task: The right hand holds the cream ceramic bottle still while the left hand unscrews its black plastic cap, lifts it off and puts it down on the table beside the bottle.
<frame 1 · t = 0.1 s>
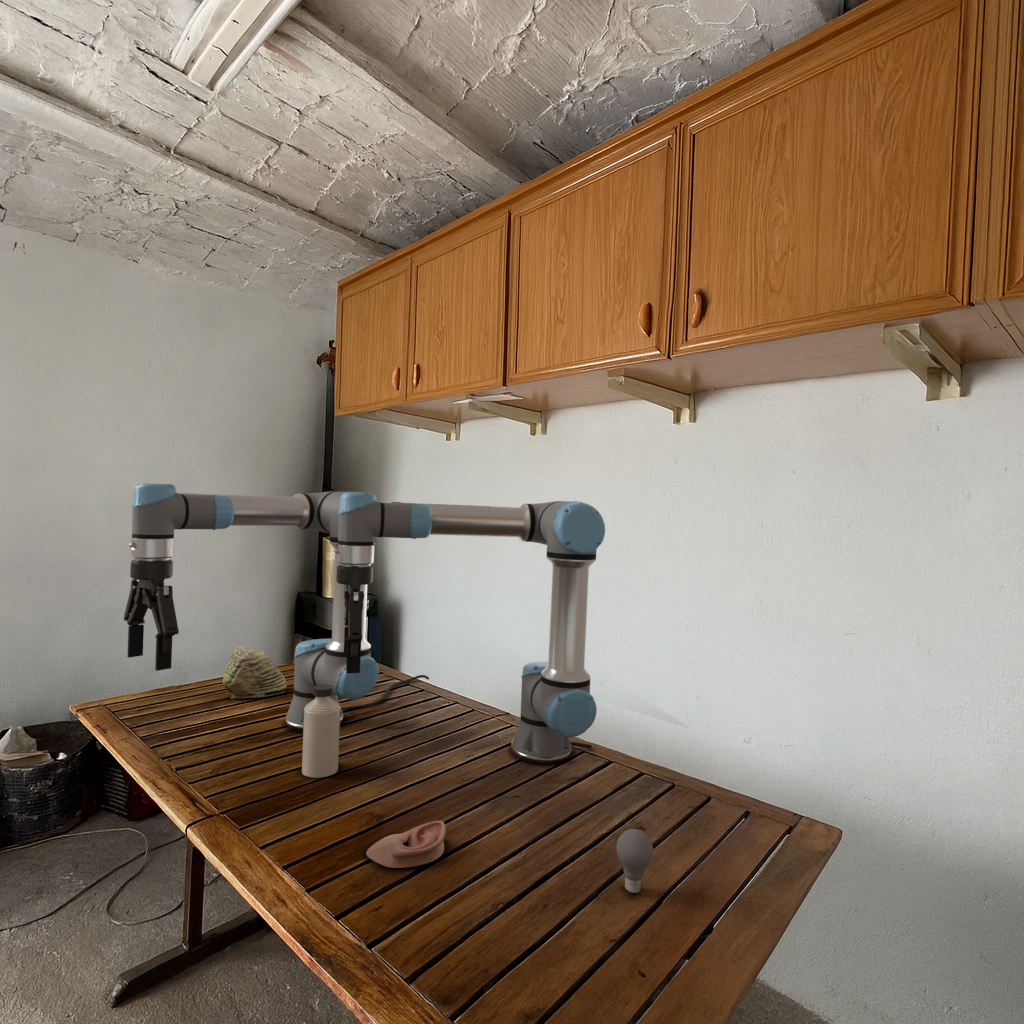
left hand: (148, 662, 129), 28 cm above the table, tool pointing down, fingers open, 13 cm apart
right hand: (351, 664, 135), 28 cm above the table, tool pointing down, fingers open, 13 cm apart
fossil: (254, 694, 198), on the table
cap: (323, 688, 146), point 19 cm above the table, screwed on, not yet turned
bottle: (320, 770, 147), on the table
anatomical model: (406, 852, 114), on the table
light bulb: (632, 891, 106), on the table
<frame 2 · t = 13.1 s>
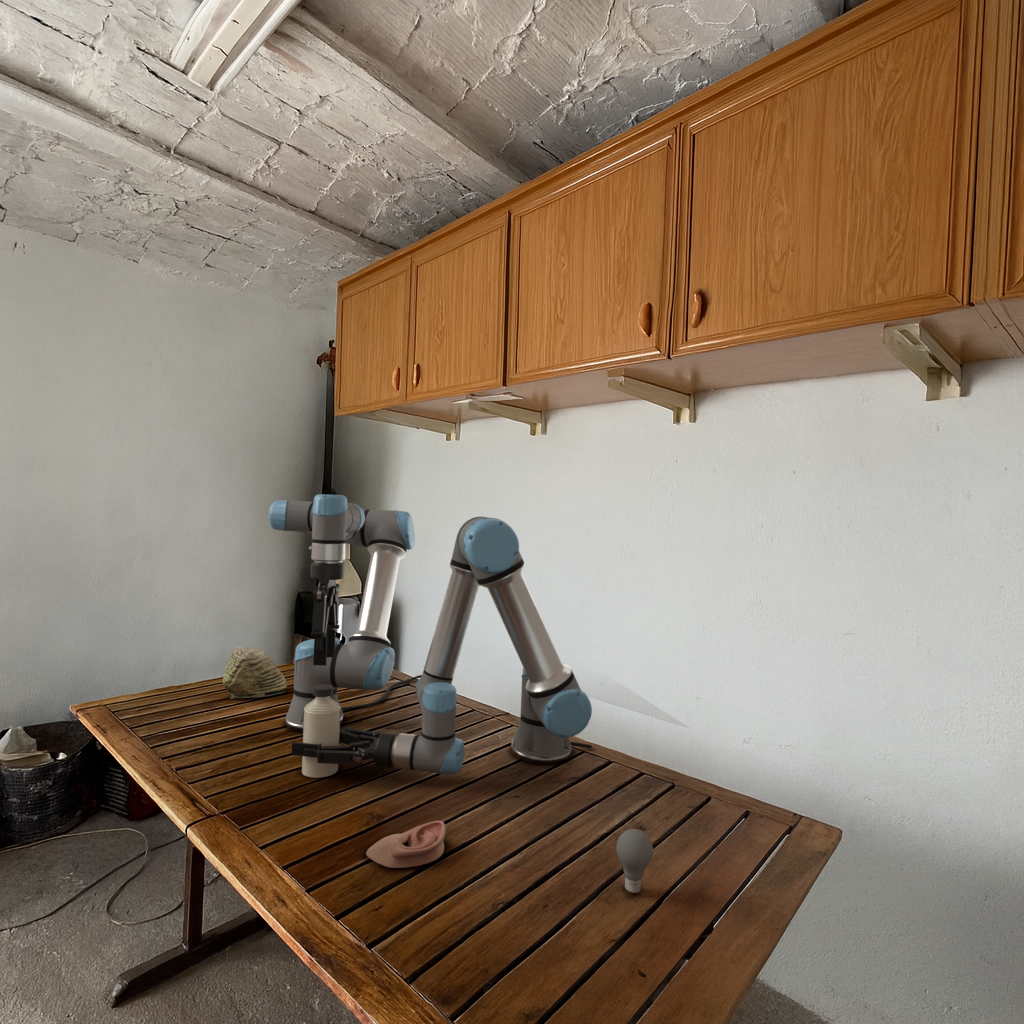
left hand: (324, 660, 146), 25 cm above the table, tool pointing down, fingers open, 7 cm apart
right hand: (301, 741, 147), 6 cm above the table, tool horizontal, fingers closed on bottle, 8 cm apart
bottle: (320, 770, 147), on the table, touching right hand
everything else where it was.
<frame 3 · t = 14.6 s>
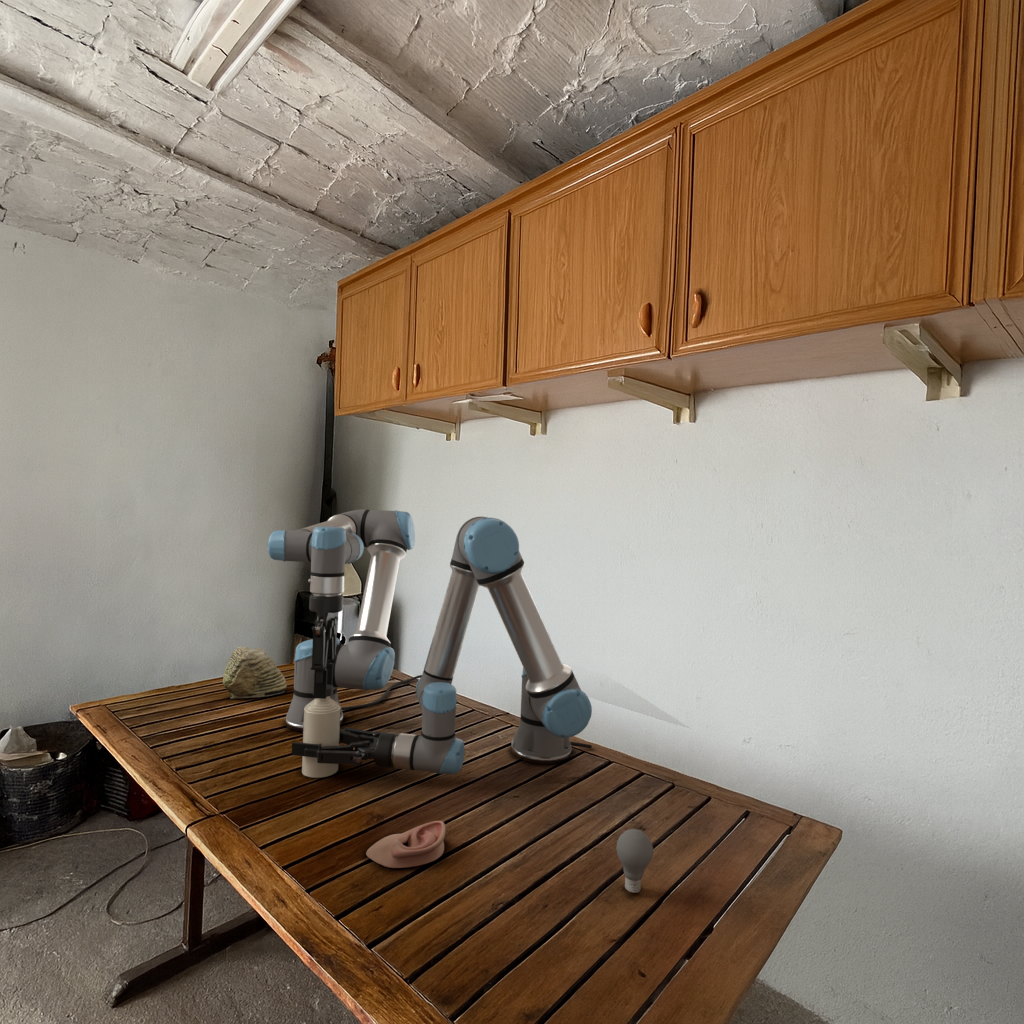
left hand: (322, 694, 146), 18 cm above the table, tool pointing down, fingers closed on cap, 4 cm apart
right hand: (301, 741, 147), 6 cm above the table, tool horizontal, fingers closed on bottle, 8 cm apart
cap: (323, 688, 146), point 19 cm above the table, screwed on, not yet turned, touching left hand
bottle: (320, 770, 147), on the table, touching right hand
everything else where it was.
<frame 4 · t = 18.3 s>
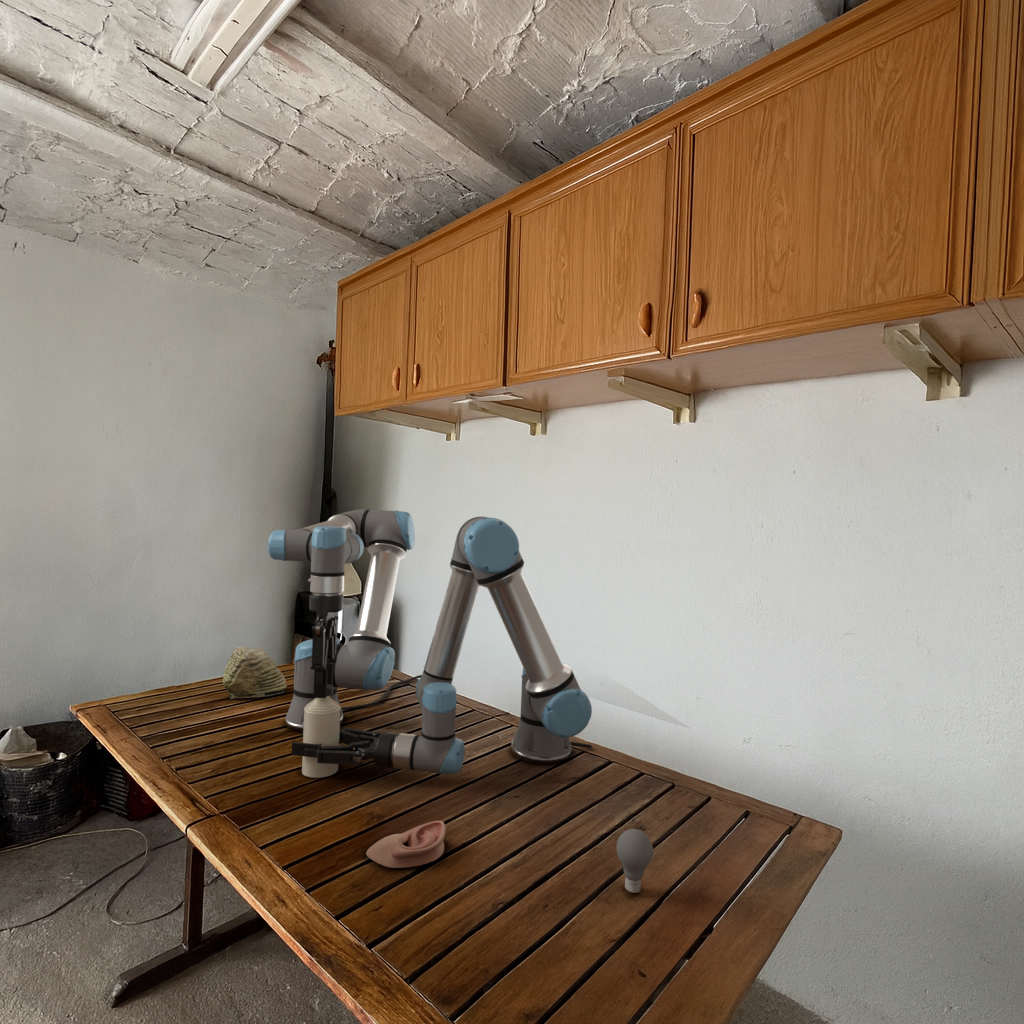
left hand: (322, 693, 146), 18 cm above the table, tool pointing down, fingers closed on cap, 4 cm apart
right hand: (301, 741, 147), 6 cm above the table, tool horizontal, fingers closed on bottle, 8 cm apart
cap: (323, 687, 146), point 19 cm above the table, turned 116° so far, risen 0.1 cm, still on its thread, touching left hand
bottle: (320, 770, 147), on the table, touching right hand
everything else where it was.
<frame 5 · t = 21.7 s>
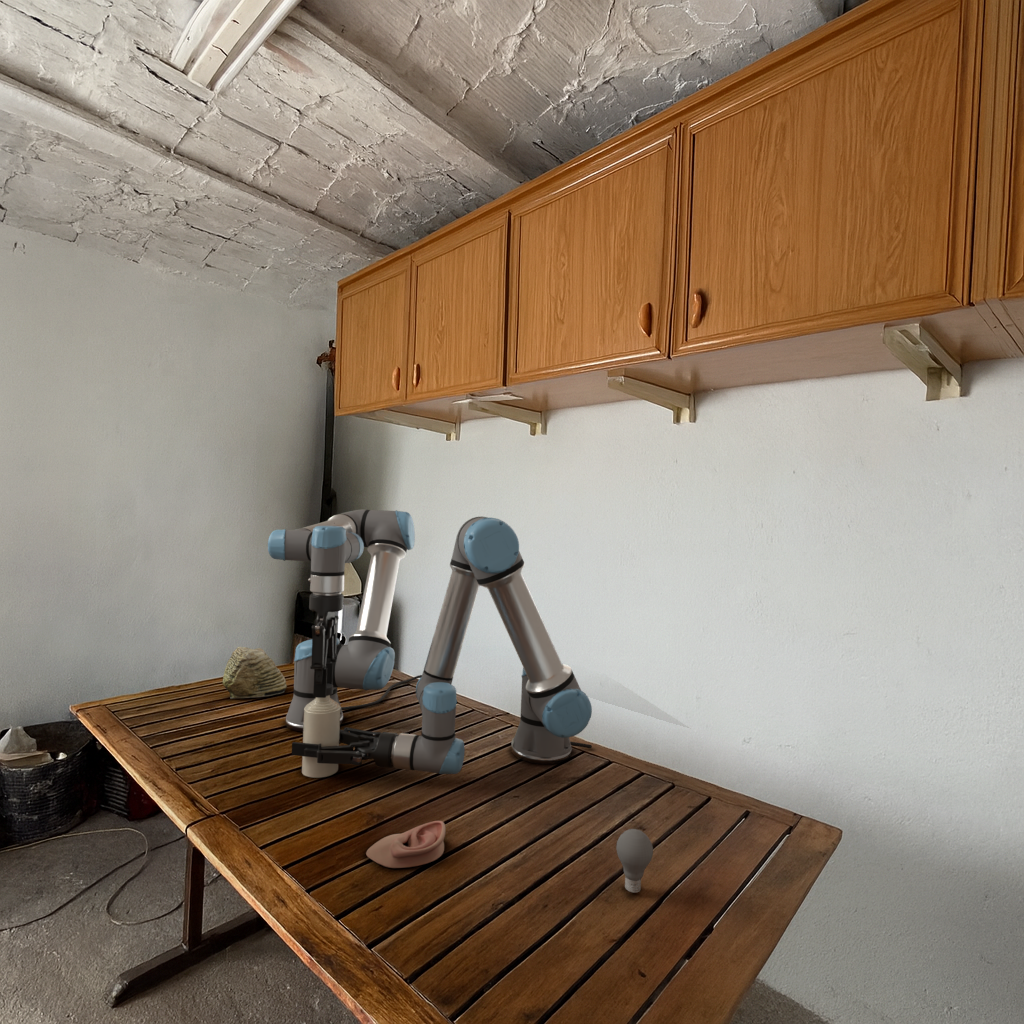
left hand: (323, 693, 146), 18 cm above the table, tool pointing down, fingers closed on cap, 4 cm apart
right hand: (301, 741, 147), 6 cm above the table, tool horizontal, fingers closed on bottle, 8 cm apart
cap: (323, 687, 146), point 19 cm above the table, turned 233° so far, risen 0.2 cm, still on its thread, touching left hand
bottle: (320, 770, 147), on the table, touching right hand
everything else where it was.
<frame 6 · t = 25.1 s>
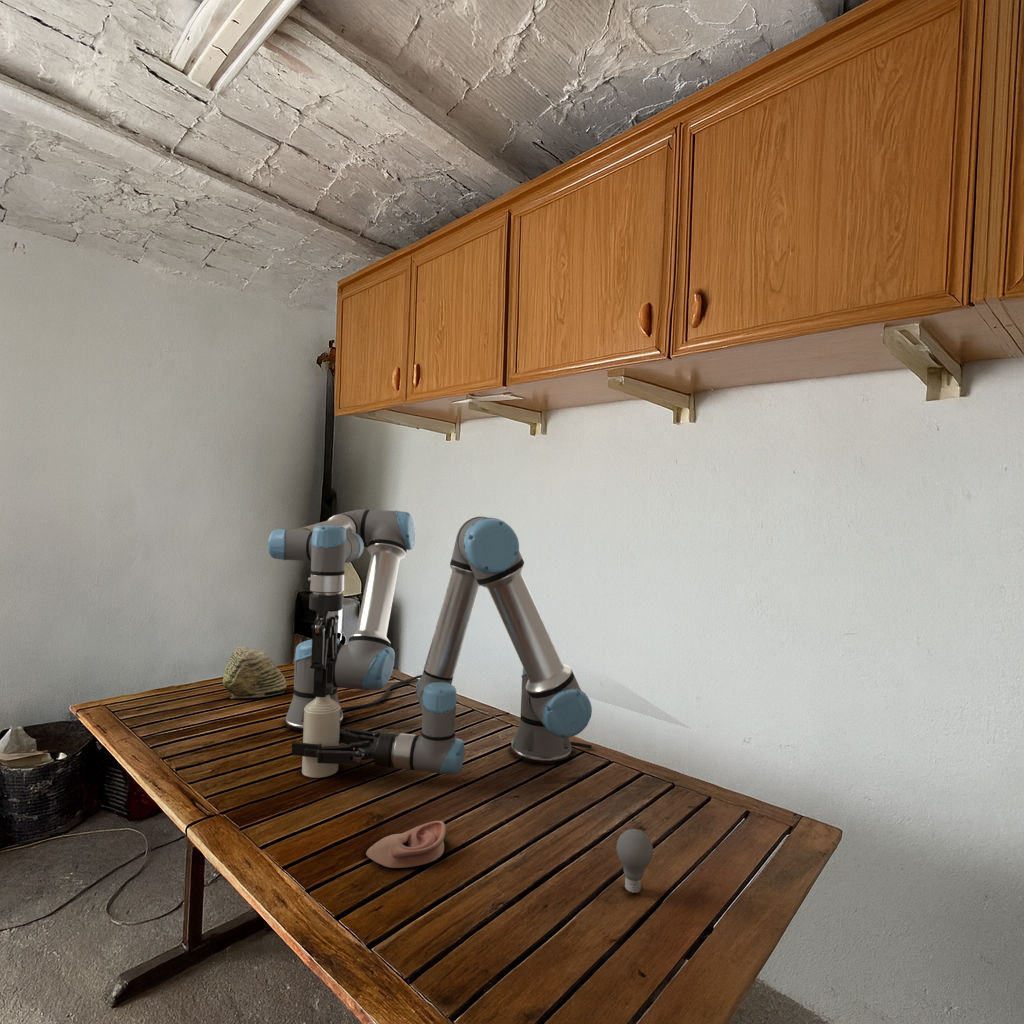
left hand: (323, 693, 146), 18 cm above the table, tool pointing down, fingers closed on cap, 4 cm apart
right hand: (301, 741, 147), 6 cm above the table, tool horizontal, fingers closed on bottle, 8 cm apart
cap: (323, 686, 146), point 19 cm above the table, turned 349° so far, risen 0.3 cm, still on its thread, touching left hand
bottle: (320, 770, 147), on the table, touching right hand
everything else where it was.
when the left hand's fingers open (2 cm above the table, at t = 32.3 s): cap drops 2 cm, point 1 cm above the table.
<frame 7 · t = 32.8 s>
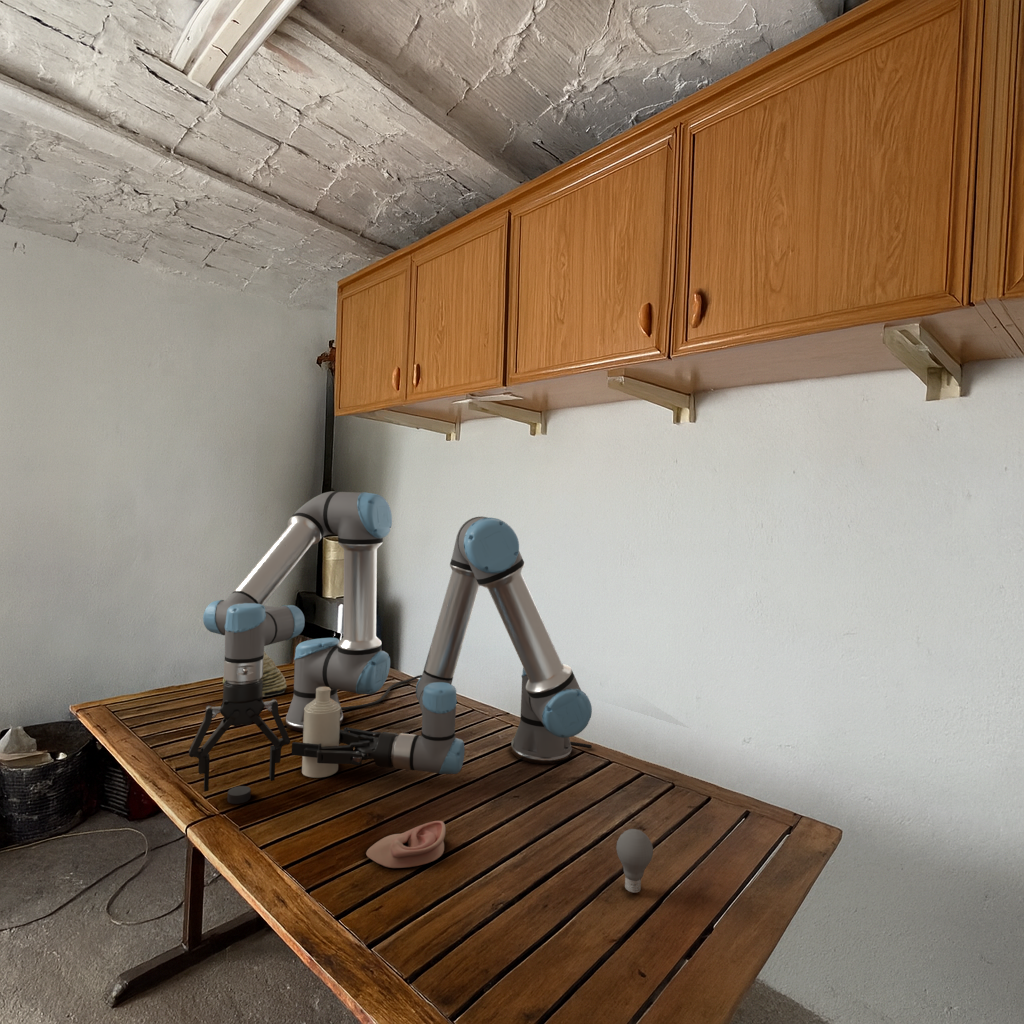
left hand: (239, 783, 131), 3 cm above the table, tool pointing down, fingers open, 12 cm apart
right hand: (301, 741, 147), 6 cm above the table, tool horizontal, fingers closed on bottle, 8 cm apart
cap: (239, 792, 131), point 1 cm above the table, off its thread
bottle: (320, 770, 147), on the table, touching right hand
everything else where it was.
when the right hand's fingers open (6 cm above the table, at t = 33.6 s): bottle stays where it is, on the table.
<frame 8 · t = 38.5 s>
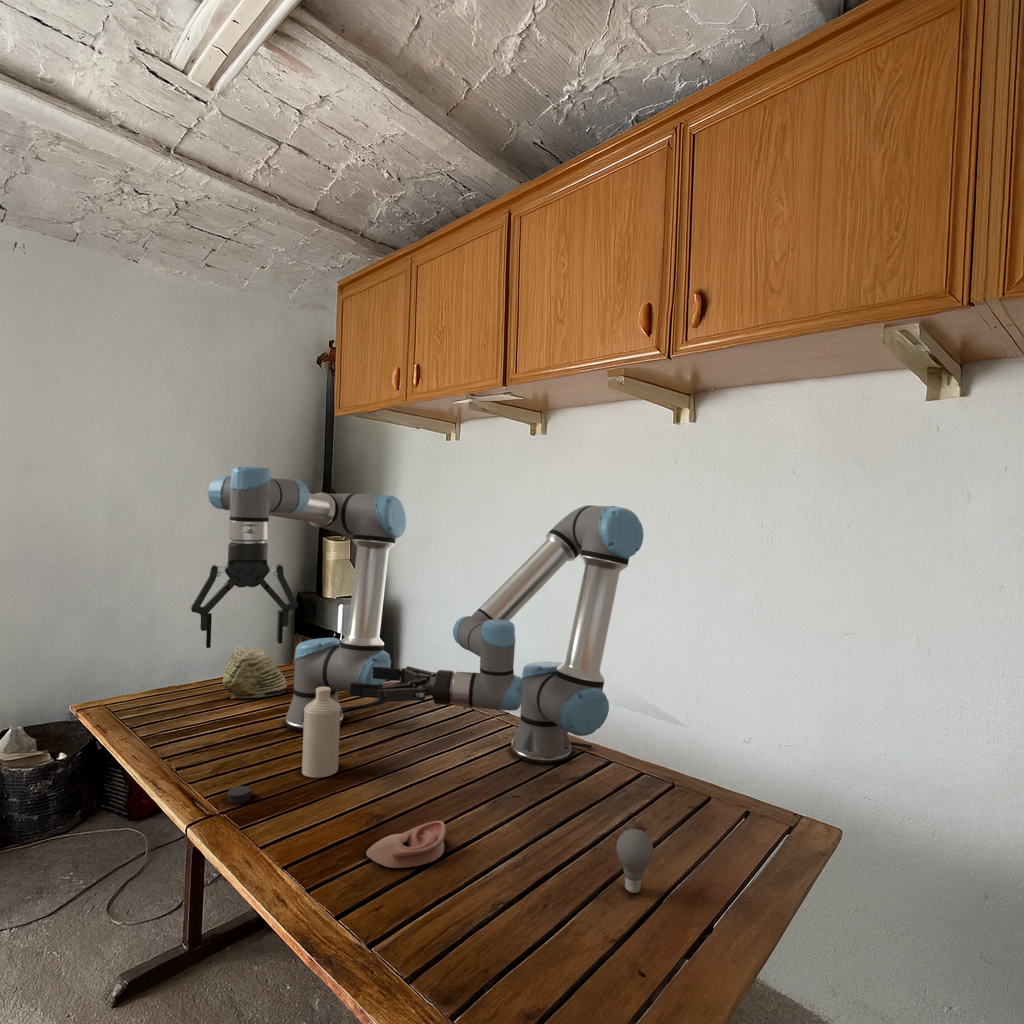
left hand: (244, 644, 131), 32 cm above the table, tool pointing down, fingers open, 13 cm apart
right hand: (362, 680, 145), 22 cm above the table, tool horizontal, fingers open, 13 cm apart
bottle: (320, 770, 147), on the table
everything else where it was.
at the end: cap came off its thread; cap point 1.4 cm above the table; the left hand is holding nothing; the right hand is holding nothing; bottle tilted 0°; bottle moved 0.0 cm from its start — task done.
